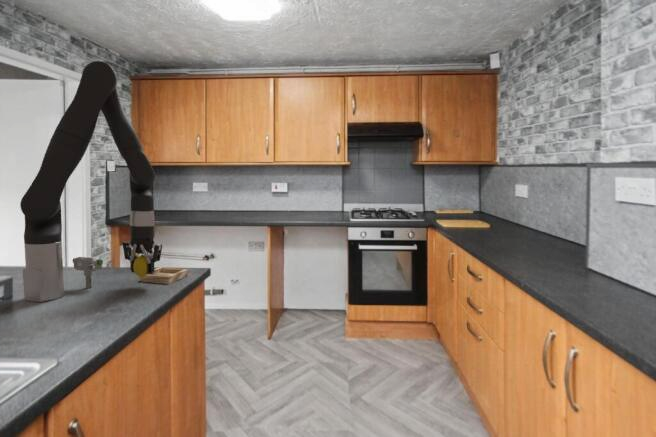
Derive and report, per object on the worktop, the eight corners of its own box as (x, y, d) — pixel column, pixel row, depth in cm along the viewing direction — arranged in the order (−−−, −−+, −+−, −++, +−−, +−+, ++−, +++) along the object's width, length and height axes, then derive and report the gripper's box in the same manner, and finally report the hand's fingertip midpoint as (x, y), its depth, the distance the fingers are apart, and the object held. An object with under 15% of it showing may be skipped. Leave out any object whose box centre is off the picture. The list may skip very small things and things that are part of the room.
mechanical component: (98, 290, 131) (97, 260, 129) (72, 287, 133) (70, 258, 131) (105, 287, 133) (104, 258, 132) (79, 285, 135) (77, 256, 134)
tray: (168, 283, 140) (168, 277, 140) (139, 281, 142) (138, 274, 142) (188, 275, 152) (187, 269, 151) (160, 273, 154) (160, 267, 154)
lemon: (133, 280, 132) (133, 256, 131) (133, 276, 137) (133, 253, 136) (151, 279, 135) (151, 255, 134) (150, 275, 140) (150, 252, 139)
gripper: (115, 223, 132) (116, 273, 134) (153, 226, 129) (153, 277, 130) (131, 221, 139) (131, 268, 141) (168, 224, 136) (167, 272, 138)
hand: (142, 272), depth 136 cm, fingers closed on lemon, 5 cm apart
